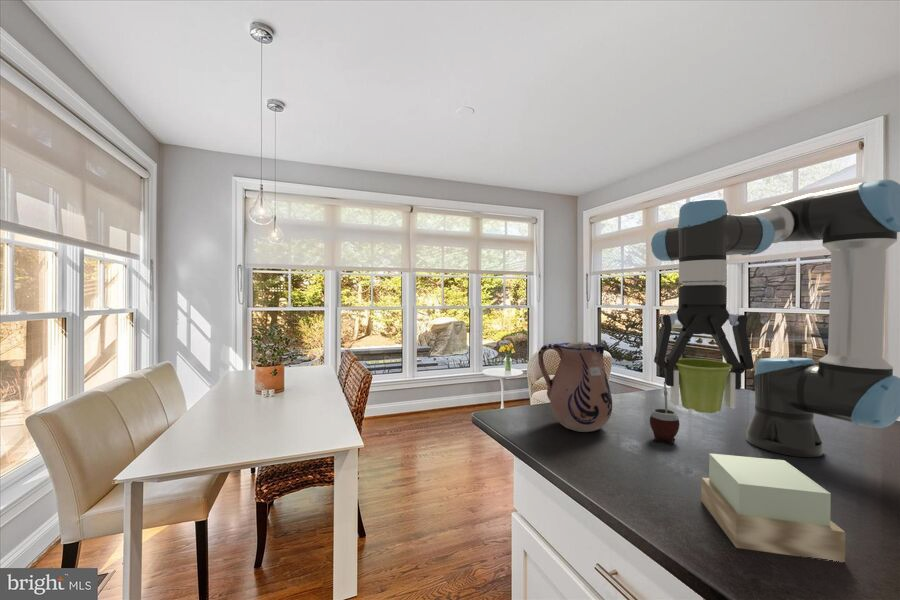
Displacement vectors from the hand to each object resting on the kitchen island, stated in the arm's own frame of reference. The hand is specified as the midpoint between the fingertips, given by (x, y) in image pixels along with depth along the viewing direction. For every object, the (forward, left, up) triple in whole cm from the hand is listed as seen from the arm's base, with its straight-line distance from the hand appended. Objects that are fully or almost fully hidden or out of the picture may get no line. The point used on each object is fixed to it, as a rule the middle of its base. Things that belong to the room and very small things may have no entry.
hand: (701, 404), depth 72 cm
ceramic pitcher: (+20, -39, -19) cm, 48 cm away
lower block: (-8, +5, -20) cm, 22 cm away
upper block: (-8, +5, -15) cm, 17 cm away
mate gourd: (-3, -34, -19) cm, 39 cm away
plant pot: (0, 0, -1) cm, 1 cm away
